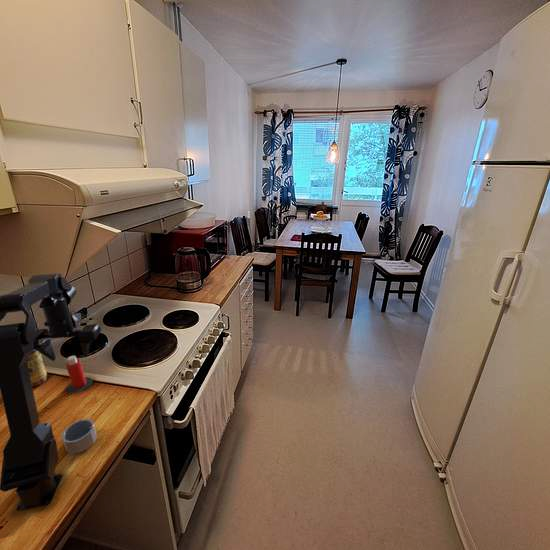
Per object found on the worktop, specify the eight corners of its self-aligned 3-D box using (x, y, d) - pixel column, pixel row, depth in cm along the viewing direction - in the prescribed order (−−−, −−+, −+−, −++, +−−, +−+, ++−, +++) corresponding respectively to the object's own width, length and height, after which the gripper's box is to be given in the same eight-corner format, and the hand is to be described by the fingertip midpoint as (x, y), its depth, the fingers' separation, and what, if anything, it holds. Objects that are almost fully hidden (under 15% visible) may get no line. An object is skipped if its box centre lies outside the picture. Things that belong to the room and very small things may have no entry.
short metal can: (91, 452, 74) (87, 439, 72) (61, 457, 73) (56, 444, 71) (101, 428, 80) (97, 417, 79) (73, 433, 79) (68, 421, 77)
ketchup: (83, 387, 94) (75, 360, 90) (71, 389, 93) (62, 362, 89) (88, 379, 97) (80, 353, 93) (75, 381, 97) (67, 354, 92)
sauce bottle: (35, 389, 93) (15, 338, 86) (19, 386, 95) (-1, 336, 87) (53, 375, 99) (36, 327, 92) (38, 373, 101) (20, 324, 93)
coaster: (87, 391, 93) (87, 390, 93) (63, 394, 92) (63, 393, 91) (95, 376, 99) (95, 375, 99) (72, 379, 98) (72, 378, 98)
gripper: (101, 299, 93) (111, 340, 98) (36, 304, 89) (50, 346, 95) (88, 316, 83) (100, 360, 88) (14, 323, 79) (31, 368, 85)
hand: (70, 358), depth 89 cm, fingers open, 9 cm apart
